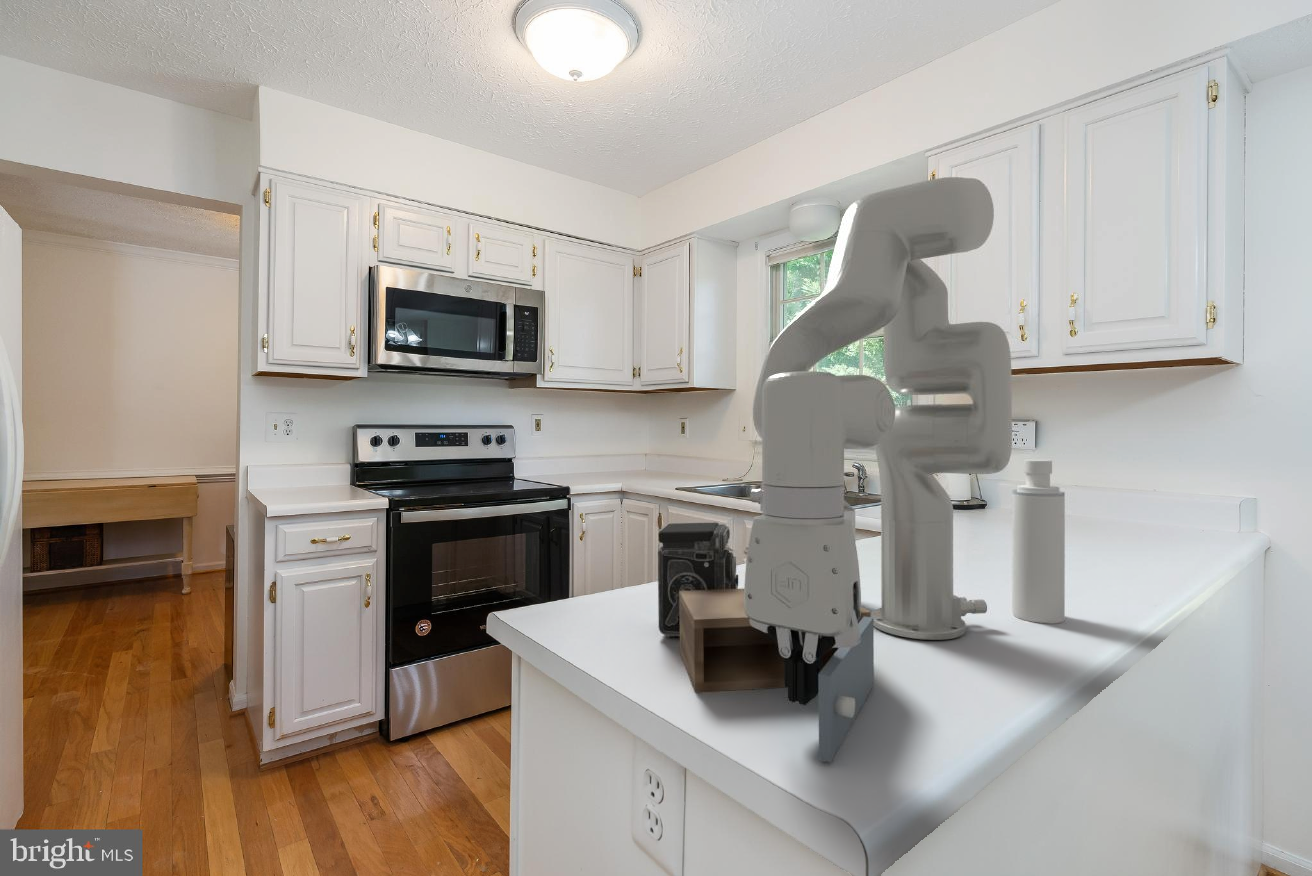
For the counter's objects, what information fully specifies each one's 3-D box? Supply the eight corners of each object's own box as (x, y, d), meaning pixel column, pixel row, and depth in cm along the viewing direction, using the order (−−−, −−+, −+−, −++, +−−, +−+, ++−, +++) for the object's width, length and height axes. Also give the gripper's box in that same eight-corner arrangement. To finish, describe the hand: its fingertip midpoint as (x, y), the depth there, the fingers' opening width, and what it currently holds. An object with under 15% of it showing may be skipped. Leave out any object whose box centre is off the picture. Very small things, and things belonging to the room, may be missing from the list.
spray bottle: (1036, 608, 98) (1036, 448, 98) (1075, 621, 92) (1076, 449, 92) (1001, 612, 97) (1001, 449, 96) (1039, 625, 90) (1039, 450, 90)
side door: (864, 682, 70) (864, 616, 70) (887, 686, 69) (886, 619, 69) (818, 759, 54) (818, 673, 54) (847, 766, 53) (846, 679, 53)
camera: (734, 646, 83) (734, 533, 83) (656, 641, 85) (655, 531, 85) (740, 622, 93) (739, 521, 93) (670, 618, 95) (669, 519, 95)
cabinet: (830, 645, 83) (830, 585, 83) (870, 682, 71) (870, 612, 71) (679, 653, 81) (679, 590, 81) (694, 692, 69) (694, 619, 69)
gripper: (713, 502, 61) (714, 692, 61) (869, 514, 52) (869, 736, 52) (750, 496, 67) (751, 669, 67) (896, 505, 58) (896, 705, 58)
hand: (802, 698), depth 60 cm, fingers closed
